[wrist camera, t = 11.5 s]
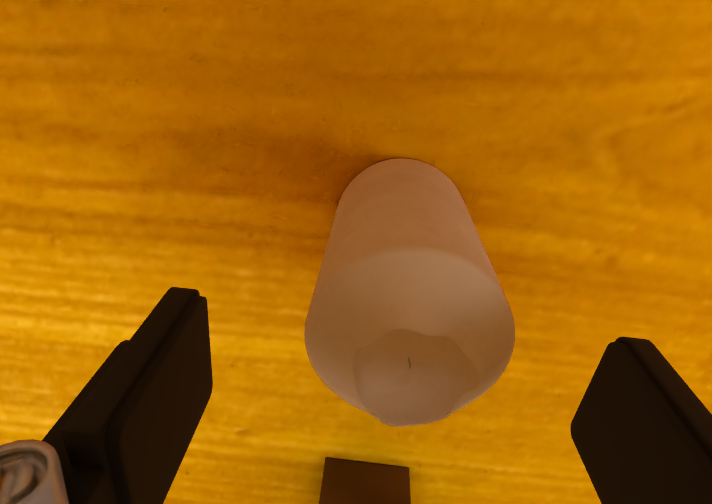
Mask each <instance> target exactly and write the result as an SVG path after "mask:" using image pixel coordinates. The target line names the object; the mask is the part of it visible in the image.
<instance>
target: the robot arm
mask: <svg viewBox="0 0 712 504" xmlns="http://www.w3.org/2000/svg"><path fill="white" fill-rule="evenodd" d="M212 385H213V381H212V367H211V352H210V338H209V324H208V309H207V299H206V297H202V296H200V295H199V292H198V290H196V289H187V288H178V287H171V288H170V289H169V290H168V291H167V292H166V294H165V295H164V296H163V297H162V299H161V300H160V301H159V303H158V304H157V305H156V307H155V308H154V309H153V311H152V312H151V313H150V314H149V316H148V317H147V318H146V320H145V321H144V322H143V324H142V325H141V326H140V327H139V329H138V330H137V331H136V333H135V334H134V335H133V337H132V338H131V339H130V340H125V341H123V342H121V343H120V344H119V345H118V346H117V347H116V348H115V349H114V350H113V352H112V353H111V354H110V355H109V357H108V358H107V359H106V361H105V362H104V363H103V364H102V366H101V367H100V368H99V369H98V371H97V372H96V373H95V374H94V376H93V377H92V378H91V379H90V381H89V382H88V383H87V384H86V386H85V387H84V388H83V390H82V391H81V392H80V393H79V395H78V396H77V397H76V398H75V400H74V401H73V402H72V403H71V405H70V406H69V407H68V408H67V410H66V411H65V412H64V414H63V415H62V416H61V417H60V419H59V420H58V421H57V422H56V424H55V425H54V426H53V427H52V429H51V430H50V431H49V432H48V434H47V435H46V436H45V437H44V439H43V440H42V441H38V440H33V439H32V440H18V441H14V442H11V443H7V444H4V445H1V446H0V504H163V502H164V500H165V498H166V496H167V493H168V491H169V489H170V487H171V484H172V482H173V480H174V478H175V475H176V473H177V471H178V469H179V466H180V464H181V462H182V460H183V457H184V455H185V453H186V451H187V448H188V446H189V444H190V442H191V439H192V437H193V435H194V433H195V430H196V428H197V426H198V424H199V421H200V419H201V417H202V415H203V412H204V410H205V408H206V406H207V403H208V401H209V399H210V396H211V392H212ZM571 436H572V439H573V441H574V444H575V446H576V448H577V450H578V452H579V455H580V457H581V459H582V461H583V463H584V466H585V468H586V470H587V472H588V474H589V477H590V479H591V481H592V483H593V486H594V488H595V490H596V492H597V494H598V497H599V499H600V501H601V503H602V504H712V414H711V413H710V412H709V411H708V410H707V408H706V407H705V406H704V405H703V404H702V402H701V401H700V400H699V399H698V398H697V396H696V395H695V394H694V393H693V392H692V390H691V389H690V388H689V387H688V385H687V384H686V383H685V382H684V381H683V379H682V378H681V377H680V376H679V375H678V373H677V372H676V371H675V370H674V369H673V367H672V366H671V365H670V364H669V363H668V361H667V360H666V359H665V358H664V356H663V355H662V354H661V353H660V352H659V350H658V349H657V348H656V347H655V346H654V344H653V343H652V342H650V341H649V340H646V339H639V338H630V337H619V338H618V339H616V341H615V342H611V343H610V344H609V345H608V346H607V348H606V350H605V352H604V354H603V356H602V358H601V361H600V363H599V365H598V367H597V369H596V371H595V373H594V375H593V378H592V380H591V382H590V384H589V386H588V388H587V390H586V392H585V395H584V397H583V399H582V401H581V403H580V405H579V407H578V409H577V412H576V414H575V416H574V418H573V420H572V423H571Z"/></svg>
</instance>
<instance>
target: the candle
mask: <svg viewBox="0 0 712 504" xmlns="http://www.w3.org/2000/svg"><path fill="white" fill-rule="evenodd" d="M514 342H515V326H514V319H513V316H512V312H511V309H510V306H509V304H508V302H507V299H506V297H505V295H504V292H503V290H502V288H501V285H500V283H499V281H498V278H497V276H496V274H495V272H494V269H493V267H492V265H491V262H490V260H489V258H488V256H487V253H486V251H485V249H484V246H483V244H482V242H481V239H480V237H479V235H478V233H477V230H476V228H475V226H474V223H473V221H472V219H471V217H470V214H469V212H468V210H467V207H466V205H465V203H464V201H463V199H462V197H461V195H460V193H459V191H458V189H457V188H456V186H455V185H454V183H453V182H452V181H451V180H450V179H449V178H448V177H447V176H446V175H445V174H444V173H442V172H441V171H440V170H439V169H437V168H435V167H434V166H432V165H430V164H427V163H425V162H422V161H418V160H414V159H407V158H397V159H389V160H385V161H381V162H379V163H376V164H374V165H372V166H370V167H368V168H366V169H365V170H363V171H362V172H361V173H359V174H358V175H357V176H356V177H355V178H354V179H353V180H352V181H351V182H350V184H349V185H348V186H347V187H346V189H345V191H344V192H343V194H342V196H341V199H340V201H339V204H338V207H337V210H336V214H335V217H334V221H333V224H332V228H331V232H330V235H329V239H328V242H327V246H326V250H325V253H324V257H323V260H322V264H321V268H320V271H319V275H318V278H317V282H316V286H315V289H314V293H313V296H312V300H311V304H310V307H309V311H308V315H307V319H306V323H305V345H306V349H307V354H308V357H309V359H310V362H311V364H312V366H313V368H314V369H315V371H316V373H317V375H318V376H319V377H320V378H321V380H322V381H323V382H324V383H325V384H326V385H327V386H328V387H329V388H330V389H331V390H332V391H333V392H334V393H335V394H337V395H338V396H339V397H341V398H342V399H344V400H345V401H347V402H349V403H350V404H352V405H354V406H355V407H357V408H359V409H361V410H363V411H365V412H367V413H369V414H371V415H373V416H375V417H376V418H377V419H379V420H380V421H381V422H383V423H385V424H387V425H390V426H395V427H403V426H412V425H421V424H428V423H433V422H436V421H440V420H442V419H444V418H446V417H447V416H449V415H450V414H451V413H453V412H455V411H457V410H459V409H461V408H463V407H464V406H466V405H468V404H469V403H471V402H472V401H474V400H476V399H477V398H478V397H480V396H481V395H482V394H484V393H485V392H486V391H487V390H488V389H489V388H490V387H491V386H492V385H493V384H494V383H495V382H496V381H497V380H498V379H499V377H500V376H501V375H502V373H503V372H504V370H505V368H506V366H507V365H508V363H509V360H510V357H511V355H512V352H513V347H514Z"/></svg>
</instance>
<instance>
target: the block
mask: <svg viewBox="0 0 712 504" xmlns="http://www.w3.org/2000/svg"><path fill="white" fill-rule="evenodd" d="M319 504H411V498H410V478H409V468H405V467H397V466H388V465H380V464H372V463H364V462H356V461H348V460H340V459H332V458H326V459H325V465H324V472H323V479H322V487H321V494H320V501H319Z"/></svg>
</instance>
